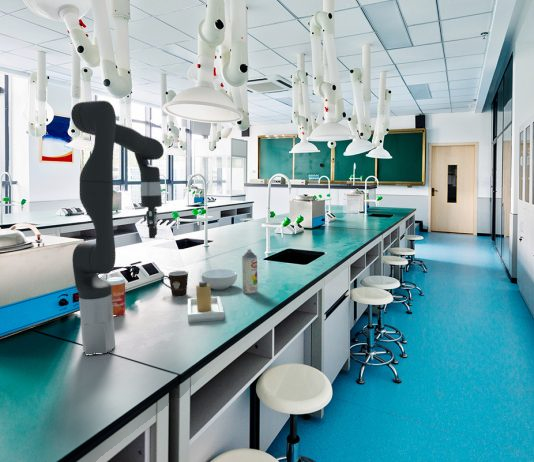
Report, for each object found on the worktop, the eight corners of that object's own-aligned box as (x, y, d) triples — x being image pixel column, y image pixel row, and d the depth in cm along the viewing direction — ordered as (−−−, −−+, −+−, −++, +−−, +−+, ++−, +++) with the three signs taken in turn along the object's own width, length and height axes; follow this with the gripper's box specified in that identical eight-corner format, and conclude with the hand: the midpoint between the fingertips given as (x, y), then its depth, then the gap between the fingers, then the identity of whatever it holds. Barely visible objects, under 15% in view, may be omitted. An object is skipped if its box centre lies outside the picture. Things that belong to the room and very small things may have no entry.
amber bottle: (212, 311, 154) (211, 283, 152) (197, 312, 152) (196, 284, 151) (210, 306, 159) (209, 280, 158) (196, 308, 158) (195, 281, 156)
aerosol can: (253, 295, 178) (252, 251, 175) (240, 293, 181) (239, 250, 178) (260, 291, 184) (259, 248, 181) (246, 289, 187) (245, 247, 184)
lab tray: (223, 319, 147) (223, 311, 147) (188, 322, 145) (187, 314, 144) (219, 303, 167) (219, 296, 166) (188, 305, 164) (187, 298, 164)
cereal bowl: (194, 289, 188) (194, 275, 187) (215, 281, 203) (214, 267, 202) (224, 294, 180) (224, 278, 179) (243, 285, 195) (243, 271, 194)
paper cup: (105, 318, 151) (103, 282, 149) (108, 311, 158) (105, 277, 156) (127, 316, 153) (125, 280, 151) (128, 309, 160) (126, 275, 158)
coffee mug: (192, 293, 182) (192, 272, 180) (179, 298, 174) (178, 276, 173) (174, 290, 187) (173, 269, 186) (160, 295, 180) (159, 273, 179)
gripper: (160, 194, 145) (162, 238, 147) (162, 193, 159) (164, 233, 161) (138, 195, 143) (141, 239, 146) (142, 193, 157) (145, 234, 159)
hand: (153, 236), depth 153 cm, fingers open, 8 cm apart
